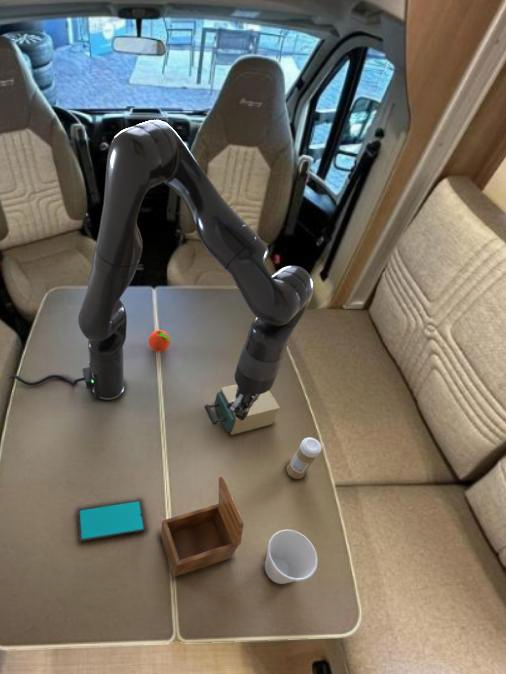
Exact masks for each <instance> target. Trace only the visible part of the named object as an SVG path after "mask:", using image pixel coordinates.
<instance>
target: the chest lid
mask: <svg viewBox="0 0 506 674" xmlns="http://www.w3.org/2000/svg"><path fill="white" fill-rule="evenodd" d="M227 485H228V484H227V483H226V480H225V479H224V476H223V475H221V476H218V504H219V505H220V507H221V510H222V512H223V514H224V517H225V519H226V521H227V523H228V526H229V528H230V530H231V533H232V535H233V537H234V540H235V542H236V544H237V545H238V546H240V545H241V542H242V539H243V538H242V536H243V530H244V524H245V522H244V520H243V518H242V516H241V513H240V512H239V510H238V507H237V505H236V503H235V500H234V498H233V495H232V494H231V492H230V489H229V488H228V486H227Z"/></svg>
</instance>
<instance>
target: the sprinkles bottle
mask: <svg viewBox="0 0 506 674" xmlns="http://www.w3.org/2000/svg"><path fill="white" fill-rule="evenodd" d="M322 450H323V449H322V444H321V442H320V441H319V440H318V439H316V438H315V437H305V438H304V439H303V440H302V441H301V443H300V445H299V448H298V449H297V451H296V452H295V454H294V455H293V457H292V458H291V460H290V462H289V464H288V465H287V467H286V471H287V472H286V473H287V474H288V475H289V476H290V477H291V478H293V479H296V480H299V479H302V478H304V476H305V474H306V472H307V471H308V470H309V469H310V467H311V466H312V464H313V462H314V461H315V459H316V458H317V457H318V456H319V455H320V454H321V452H322Z"/></svg>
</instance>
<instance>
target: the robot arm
mask: <svg viewBox="0 0 506 674" xmlns="http://www.w3.org/2000/svg"><path fill="white" fill-rule="evenodd" d="M105 169H106V170H105V179H104V180H105V182H104V196H103V205H102V212H101V216H100V224H99V229H98V234H97V238H96V242H95V245H94V251H93V258H92V264H91V270H90V273H89V279H88V285H87V289H86V294H85V296H84V300H83V302H82V304H81V307H80V310H79V313H78V317H77V318H78V319H77V321H78V327H79V329H80V331H81V333H82V334H83V336H84V337H85V338H86V339H87V351H88V357H89V363H88V367H83V368H81V369H82V376H83V377H79V378H75V379H74V380H71V379H70V378H67V377H65V376H63V375H60V374H50V375H48V376H45V377H43V378H41V379H39V380H37V381H32V382H31V381H30V382H29V381H27V380H25V379H23V378H21V377H20V376H19V375H16V374H12V375H10V376H9V379H11V380H12V379H16V380H18V382H21V383H22V384H24V385H26V386H36V385H37V386H38V385H39V384H42V383H44V382H46V381H47V380H50V379H55V378H56V379H60V380H63V381H65V382H67V383H68V384H71V385H74V386H75V385H78V383H80V382H84V383H85V387H86V389H87V390H89V389H92V392H93V394H94V395H93V396H94V399H95V400H99V399H100V400H103V401H113V400H117V399H118V398H119V397H121V396H122V395H123V393H124V391H125V378H124V377H125V376H124V375H125V374H124V344H125V342H126V339H127V325H128V318H127V311H126V308H125V306H124V303H123V302H122V301H121V298H122V296H123V295H124V293H125V292H126V290H127V289H128V287H129V286H130V284H131V282H132V281H133V279H134V277H135V274H136V272H137V270H138V266H139V264H140V261H141V258H142V253H143V247H144V246H143V245H144V242H143V238H142V235H141V231H140V229H139V226H138V223H137V222H138V217H139V213H140V209H141V206H142V203H143V201H144V199H145V196H146V195H147V193H148V191H149V190H150V189H153V188H154V187H157V186H158V185H160V184H162V183H164V184H165V185H167V186H168V187H169V188H170V189H172V190H173V191H174V192H175V193H176V194H177V195H178V196H179V198H181V200H182V201H183V202H184V204H185V206H186V208H187V210H188V212H189V214H190V216H191V219H192V222H193V225H194V228H195V231H196V234H197V237H198V239H199V240H200V242H201V244H202V245H203V246H204V248H205V249H206V251H207V252H208V253H209V254H210V256H212V257H213V258H214V260H215V261H216V262H217V263H218V264H219V265H220V266H221V267H222V268H223V269H224V270H225V271H226V272H227V273H228V274H229V275H230V276H231V278H232V279H233V281H234V283H235V285H236V287H237V289H238V291H239V292H240V294H241V296H242V298H243V300H244V301H245V303H246V305H247V307H248V308H249V310H250V311H251V313H252V314H253V315H254V317H255V318H254V320H253V321H252V322H251V325H249V329H248V332H247V336H246V340H245V342H244V345H243V346H242V349H241V351H240V354H239V358H238V361H237V365H236V368H235V370H234V371H235V372H234V381H235V383H236V384H237V385H238V387H237V390H236V391H237V393H236V400H235V402H233V401H232V402H231V403H228V404H227V408H228V409H230V410H231V411H233V412H234V413H235V416H236V417H237V418H238V419H240V420H244V419H245V418H246V417H247V415H248V412H249V409H250V408H251V407H252V406H253V403H254V402H255V401H256V400H258V397H259V396H260V394H263V393H265V392H267V391H270V390H271V389H272V388H273V386H274V383H275V380H276V379H277V375H278V373H279V371H280V369H281V366H282V364H283V360H284V355H285V353H286V351H287V347H288V345H289V343H290V340H291V337H292V334H293V332H294V331H295V329H296V327H297V325H298V324H299V322H300V321H301V319H302V317H303V315H304V314H305V312H306V310H307V308H308V306H309V304H310V303H311V300H312V297H313V294H314V282H313V278H312V276H311V275H310V273H309V272H308V271H307V270H306V269H305V268H303V267H301V266H298V265H287V266H284V267H282V268H280V269H278V270H276V271H275V272H274V273H273V274H272V275H271V273H270V271H269V270H268V268H267V266H266V264H265V261H266V260H267V259H268V255H269V251H270V250H269V247H268V245H267V244H266V243H265V241H264V240H263V239H261V238H260V237H261V236H259V235H258V234H257V233H256V232H255V231H254V230H253V229H252V228H251V227H250V226H249V225H248V224H247V223H246V222H245V220H243V218H241V217H240V216H239V215H238V214H237V213H236V212H235V210H233V208H232V207H231V206H230V205H229V204H228V203H227V202H226V200H225V199H224V198H223V196H222V195H221V194H220V192H219V191H218V189H217V188H216V186H215V185H214V184H213V183H212V181H211V180H210V178H209V177H208V176H207V174H206V173H205V171H204V169H202V167H201V165H200V164H199V162H198V161H197V160H196V159H195V157H194V155H193V154H192V153H191V151H190V150H189V148H188V147H187V145H186V143H185V142H184V141H183V140H182V138H181V137H180V135H178V133H177V132H176V131H175V130H174V129H173V127H171V126H170V125H169V124H168V123H167V122H165V121H162V120H159V119H156V120H155V119H154V120H152V119H151V120H148V121H145V122H142V123H139V124H136V125H133V126H130V127H128V128H125V129H123V130H121V131H120V132H118V133H117V134H116V135H115V136H114V138H113V139H112V141H111V142H110V145H109V149H108V153H107V159H106V168H105Z"/></svg>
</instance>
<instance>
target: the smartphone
mask: <svg viewBox="0 0 506 674" xmlns="http://www.w3.org/2000/svg"><path fill="white" fill-rule="evenodd" d="M77 518H78V519H77V520H78V535H79V541H80V542H81V543H82V542H88V541H93V540H99V539H105V538H112V537H118V536H125V535H131V534H135V533H141V532H144V531H146V530H145V524H144V523H145V522H144V517H143V511H142V505H141V500H140V499H138V500H132V501H126V502H118V503H111V504H106V505H99V506H94V507H93V506H92V507H86V508H79V509H77Z"/></svg>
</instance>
